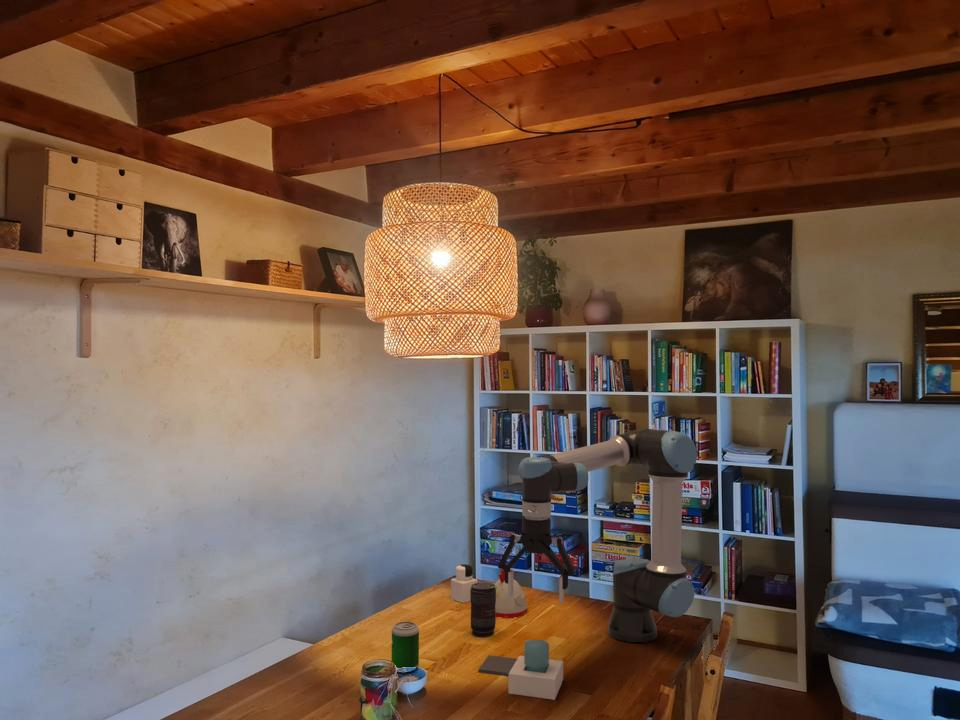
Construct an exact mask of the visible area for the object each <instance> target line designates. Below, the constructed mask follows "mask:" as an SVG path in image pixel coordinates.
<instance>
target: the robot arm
mask: <svg viewBox="0 0 960 720" xmlns="http://www.w3.org/2000/svg"><path fill="white" fill-rule="evenodd" d="M697 460H698V452H697V447H696V445H695V443H694V441H693V439H691V437H690V436H689V435H688V434H686V433H684V432H680V431H677V430H667V429H666V430H665V429H652V428H640V429H636V430H631V431H627V432H623V433H620V434H616V435H613V436H611V437H610V438H609V440H605V441H602V442H599V443H598V442H597V443H594V444H590V445H585V446H582V447H578V448H574V449H569V450H566V451H562V452H557V453H554V454H551V455H545V456H541V457H534V456H531V457H530V456H529V457H525V458H523V459H521V461H520V463H519V465H518V471H517V472H518V475H519V478H520V480H521V481H522V482H521V483H522V484H521V486H522V487H521V488H522V491H521V493H522V501H521V503H522V504H521V506H522V507H521V509H522V511H521V512H522V516H523V517H522V518H521V519H522V521H521V534H517V533H516V532H513V533H512V534H511V535H510V536H509V541H508V542H509V543H508V545H507V547H505V548H506V549H505V550H504V552H503V554H502V556H501V558H500V560H499V562H498V564H497V568H498V569H500V570H504V572H505V583H507V584H508V597H510V598H511V597H512V596H513V584H514V580H515V579H514V576H515V571H514V569H512V568H513V567H514V565H516V563H517V562H518V561H519V560H520V559H521V557H522V556H523V555H524V554H525V553H526V552H528V553H529V554H537V555H542V554H544V555H545V556H546V557H548V559H549V561H550V562H551V563H552V564H553V565H554V566H555V568H556V569H557V571H558V572H559V573H560V575H559V577H558V578H559V580H558V582H559V583H558V584H559V586H558V587H559V589H558V596H559V597H558V600H559V602H558V603H560V604H563V602H564V600H565V590H567V589H568V587H569V576H570V577H571V576H573V575H575V572H576V568H575V567H574V565H573V562H572V560H571V558H570V556H569V554H568V552H567V549H566V548H565V546H564V538H563V536H559V537H552V528H551V527H552V523H551V522H552V519H551V515H552V494H556V493H568V492H577V491H582V490H584V489H585V488H587V486H588V483H589V472H593V471H596V470H600V469H604V468H609V467H611V466H615V465H616V466H618V467H625V466H641V467H647V476H648V477H649V478H650V479H651V480H652V502H651V503H652V504H651V505H652V511H651V513H652V515H651V516H652V517H651V552H650V553H651V555H650V557H651V558H650V560H649V559H645V558H626V559H625V558H624V559H619V560H617V561H616V562H615V563H614V564H613V573H612V582H613V583H612V590H613V592H612V593H613V595H612V596H613V599H612V601H613V602H612V603H613V608H612V612H611V614H610V616H609V617H610V618H609V620H608V623H607V634H608V635H609V637H612V638H613V639H615V640H617V639H618V640H617V641H620V640H621V642H624V641H627V642H626V643H631V642H644V643H649V642H648V641H650V642H653V641H654V639H655V638H656V639H657V638H658V628H657V625H656V621H655V618H654V615H653V612H652V611H654V612H657V613H660V614H661V615H662V616H668V617H671V618H679V617H681V616H683V615H684V614H686V613H687V612H688V610H689V609H690V608H691V606H692V604H693V602H694V598H695V587H694V585H693V583H692V581H690V579H688V578H687V568H686V567H685V566H684V565H683V564H682V529H683V528H682V527H683V526H682V523H683V522H682V521H683V513H682V512H683V483H684V481H685V480H686V479H688V475H689V472H690V471H692V470H693V469H694V468H695V466H694V465H696V463H697ZM519 541H520V542H521V543H522V545H523V546H522V548H521V549H520V550H519V551H518V552H517V554H516V555H515V556H514V557H513V558H512V559H511V560H510V561H509V563H508V564H507V561H508V559H509V557H510V555H511V553H512V551H513V549H514V548H515V546H516V544H517V543H519ZM552 543H553V544H554V546H555V547H557V550H558V553H559V555H560V557H561V559H562V561H563V563H564V564H563V563H562V561H561V560H560V559H559V557H558V556H557V555H556V554H555V552H554V550H553V549H552V547H550V546H551V544H552ZM564 565H565V566H564ZM510 569H512V570H510ZM656 639H655V640H656ZM622 640H623V641H622ZM652 640H653V641H652Z"/></svg>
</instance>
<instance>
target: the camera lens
mask: <svg viewBox="0 0 960 720" xmlns="http://www.w3.org/2000/svg"><path fill="white" fill-rule="evenodd" d="M494 584H495V583H492V582H487V581H486V582H485V581H483V582H482V581H481V582H478V583H475V584H472V585H471V589H470V601H469V602H470V629H471V631H472V632H471V633H472V635H473V636H475V637H479V638H487V637H491V636H493V635H494V633H495V632H494V631H495V629H496V624H497V623H496V620H497V619H496V618H497V617H496V615H495V603H496V588H495V585H494Z"/></svg>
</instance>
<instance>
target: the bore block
mask: <svg viewBox="0 0 960 720" xmlns="http://www.w3.org/2000/svg"><path fill="white" fill-rule="evenodd" d="M516 659H517V661H516V662H515V664H514V666H513V667H512V669H511V670H510V672H509V676H508V679H507V680H508V681H507V682H508V691H507V692H508V694H509V695H518V696H525V697H532V698H538V699H546V700H547V699H548V700H552V701H553V700H554V701H555V700H556V698H557V696H558V693H559V690H560V688H561V686H562V685H563V684H562V683H563V682H564V661H563V660H559V659H558V660H557V659H551V658H549V665H548V666H547V667H546V672H545V673H540V672H532V671H527V666H526V665H525V664H524V655H519V656H518V658H516ZM562 681H563V682H562Z"/></svg>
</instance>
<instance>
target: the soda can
mask: <svg viewBox="0 0 960 720" xmlns="http://www.w3.org/2000/svg"><path fill="white" fill-rule="evenodd" d="M419 655H420V628H419V626H418V625H417V624H416V623H415V622H413V621H400V622H397V623H395V624H394V626H393V627H392V628H391V663H392V662H393V663H394V664H395V665H396V667H397V668H402V667H417V668H418V667H419V666H420V665H419V664H420V657H419Z"/></svg>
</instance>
